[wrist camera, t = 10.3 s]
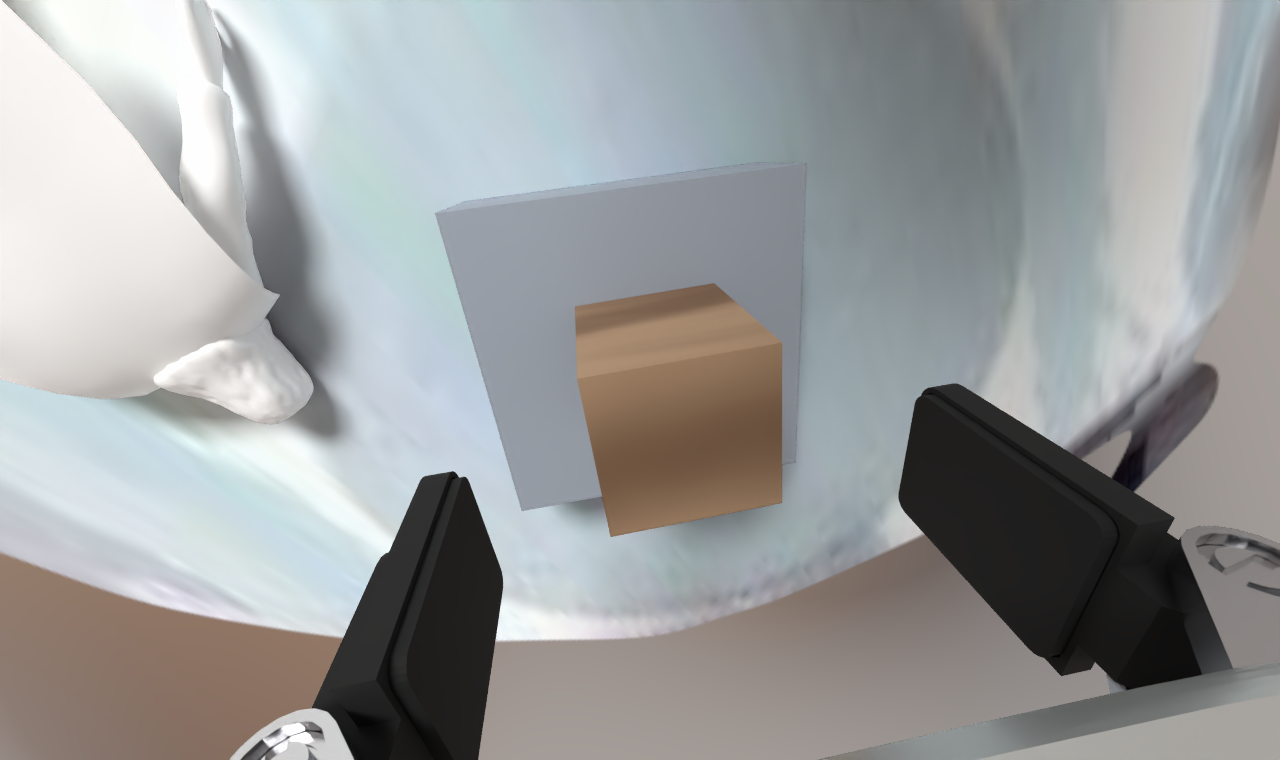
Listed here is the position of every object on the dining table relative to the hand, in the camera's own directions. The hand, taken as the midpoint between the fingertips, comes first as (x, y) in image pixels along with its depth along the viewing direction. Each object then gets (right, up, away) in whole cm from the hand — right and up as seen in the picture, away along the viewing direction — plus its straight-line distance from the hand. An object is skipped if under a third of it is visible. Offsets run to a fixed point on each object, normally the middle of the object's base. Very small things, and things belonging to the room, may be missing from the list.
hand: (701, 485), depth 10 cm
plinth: (-2, +5, +12) cm, 13 cm away
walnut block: (-1, +3, +8) cm, 8 cm away
